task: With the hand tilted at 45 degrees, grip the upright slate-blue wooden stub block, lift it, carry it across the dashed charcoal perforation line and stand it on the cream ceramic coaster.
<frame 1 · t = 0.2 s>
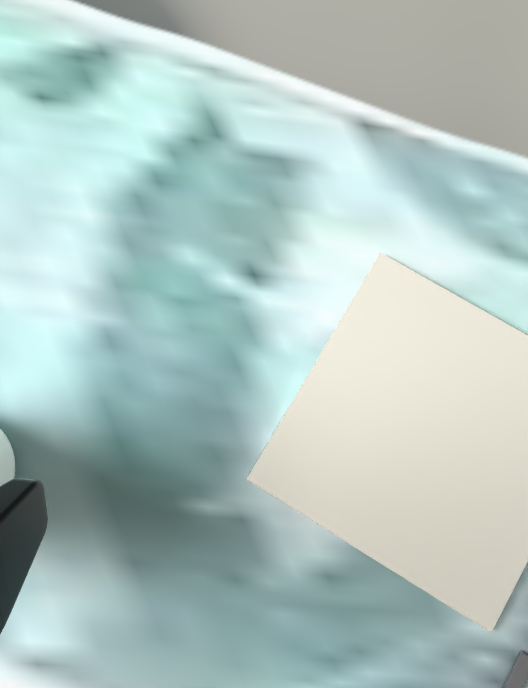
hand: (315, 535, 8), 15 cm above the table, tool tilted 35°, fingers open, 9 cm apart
coaster: (430, 432, 23), on the table
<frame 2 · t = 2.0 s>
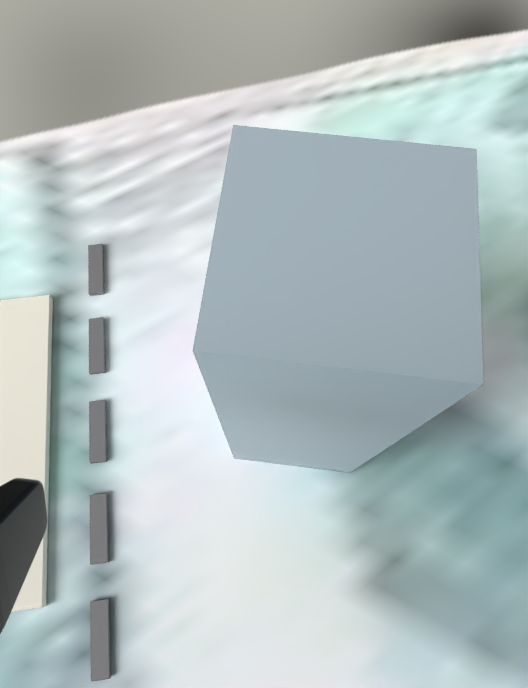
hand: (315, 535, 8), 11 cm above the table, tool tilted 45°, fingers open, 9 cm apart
stub block: (297, 408, 20), on the table
perforation line: (98, 431, 20), on the table
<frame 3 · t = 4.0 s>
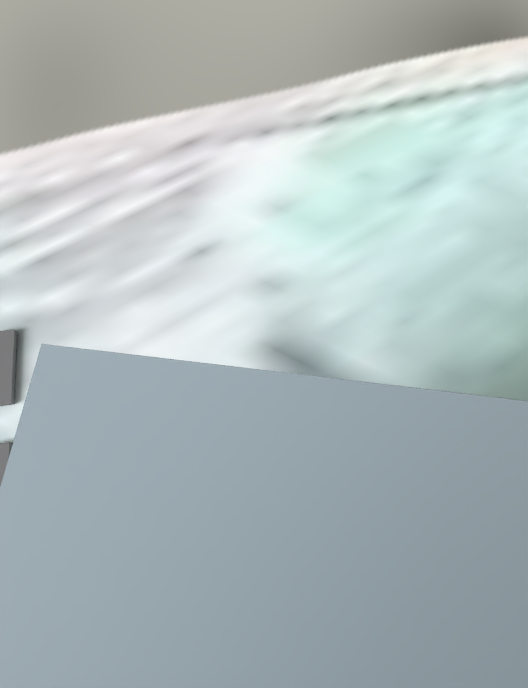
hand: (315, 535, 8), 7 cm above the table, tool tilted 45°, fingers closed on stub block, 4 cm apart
stub block: (287, 585, 14), on the table, touching gripper
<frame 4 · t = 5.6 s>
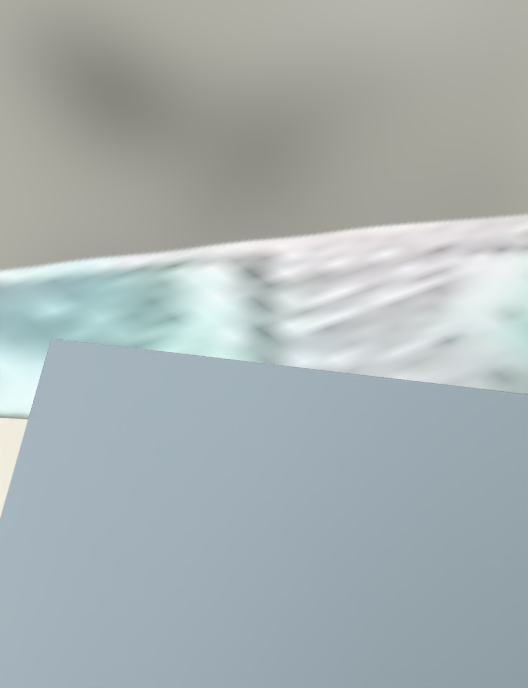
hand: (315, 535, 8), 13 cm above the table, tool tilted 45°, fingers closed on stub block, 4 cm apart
coaster: (94, 580, 19), on the table
stub block: (288, 584, 14), point 6 cm above the table, touching gripper
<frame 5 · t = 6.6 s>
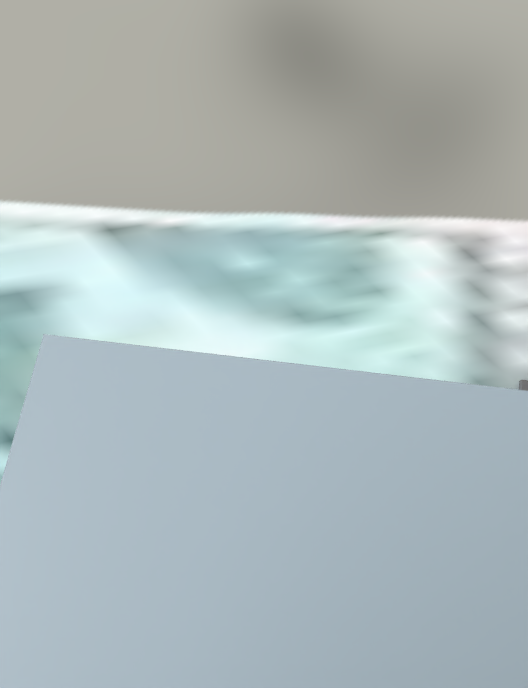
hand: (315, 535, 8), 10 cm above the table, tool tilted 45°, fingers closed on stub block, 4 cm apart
stub block: (287, 583, 14), point 3 cm above the table, touching gripper
when the fingers open (8 cm above the table, at t = 7.2 s): stub block drops 1 cm, resting on coaster.
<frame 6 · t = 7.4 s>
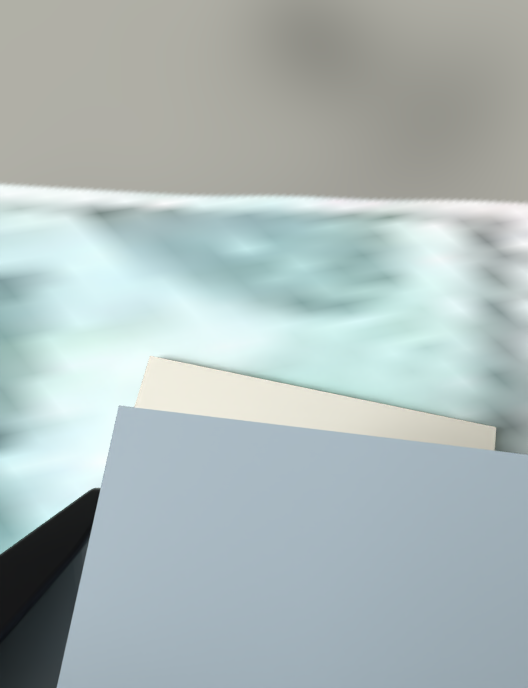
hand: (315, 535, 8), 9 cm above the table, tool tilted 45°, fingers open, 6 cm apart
coaster: (284, 577, 16), on the table
stub block: (286, 578, 15), resting on coaster
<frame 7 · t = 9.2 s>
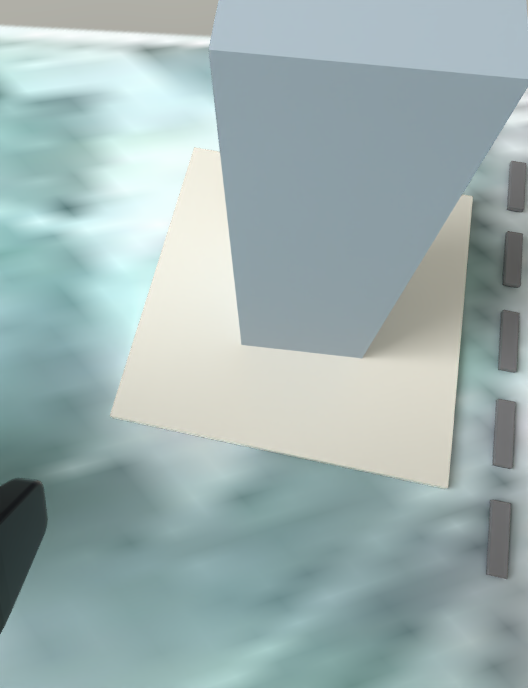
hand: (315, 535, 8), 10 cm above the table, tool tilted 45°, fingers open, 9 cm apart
coaster: (305, 301, 20), on the table
stub block: (306, 296, 20), resting on coaster
perforation line: (507, 341, 19), on the table
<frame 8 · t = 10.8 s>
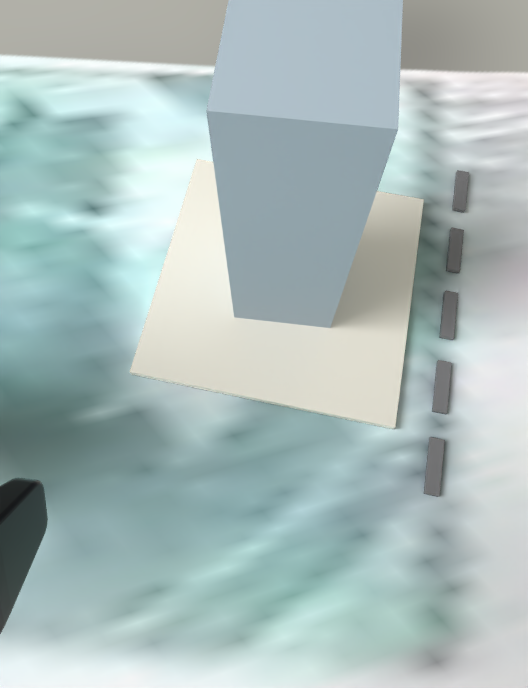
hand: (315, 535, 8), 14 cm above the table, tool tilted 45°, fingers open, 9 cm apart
coaster: (285, 283, 25), on the table
stub block: (287, 279, 24), resting on coaster
perforation line: (448, 315, 24), on the table
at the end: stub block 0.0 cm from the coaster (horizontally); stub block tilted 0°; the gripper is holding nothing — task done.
